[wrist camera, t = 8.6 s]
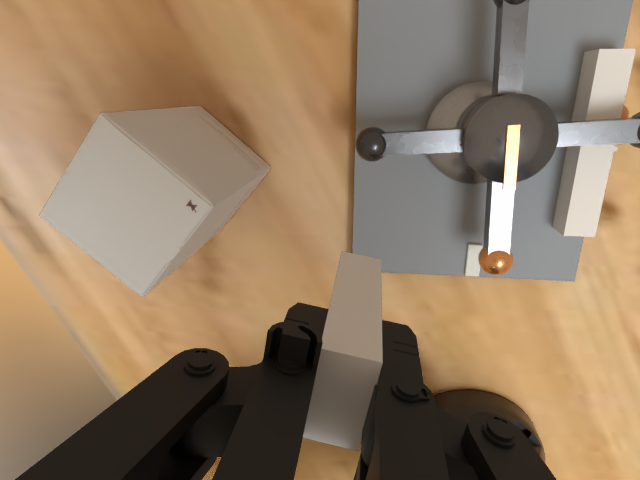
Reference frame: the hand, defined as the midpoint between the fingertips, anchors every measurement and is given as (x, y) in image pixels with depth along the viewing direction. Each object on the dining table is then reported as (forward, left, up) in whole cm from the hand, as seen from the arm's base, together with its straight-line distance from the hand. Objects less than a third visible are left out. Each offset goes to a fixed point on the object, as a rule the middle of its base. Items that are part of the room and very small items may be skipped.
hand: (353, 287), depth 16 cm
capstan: (+4, -10, -23) cm, 25 cm away
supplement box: (0, +15, -25) cm, 29 cm away
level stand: (+3, -9, -24) cm, 26 cm away
